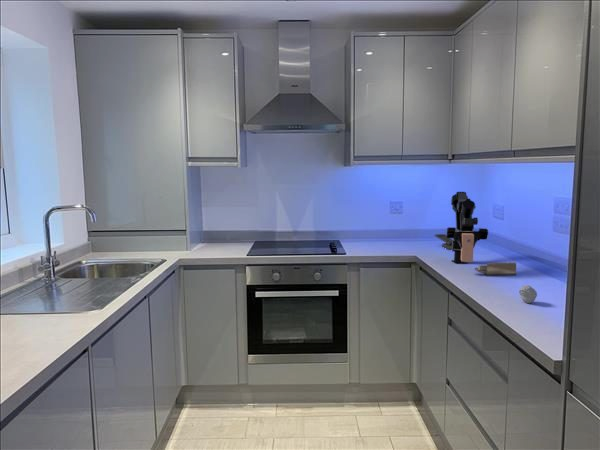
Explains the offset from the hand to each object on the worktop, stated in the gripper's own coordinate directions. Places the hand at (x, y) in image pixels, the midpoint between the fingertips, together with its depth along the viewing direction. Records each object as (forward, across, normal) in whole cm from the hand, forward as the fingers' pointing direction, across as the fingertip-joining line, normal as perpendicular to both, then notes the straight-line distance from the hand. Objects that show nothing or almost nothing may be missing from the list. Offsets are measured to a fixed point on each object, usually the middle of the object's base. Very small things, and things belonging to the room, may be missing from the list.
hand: (467, 247), depth 217 cm
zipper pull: (-44, -3, +65) cm, 79 cm away
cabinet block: (+4, 0, +6) cm, 7 cm away
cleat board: (+3, +14, +16) cm, 21 cm away
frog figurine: (+39, +18, -20) cm, 47 cm away
